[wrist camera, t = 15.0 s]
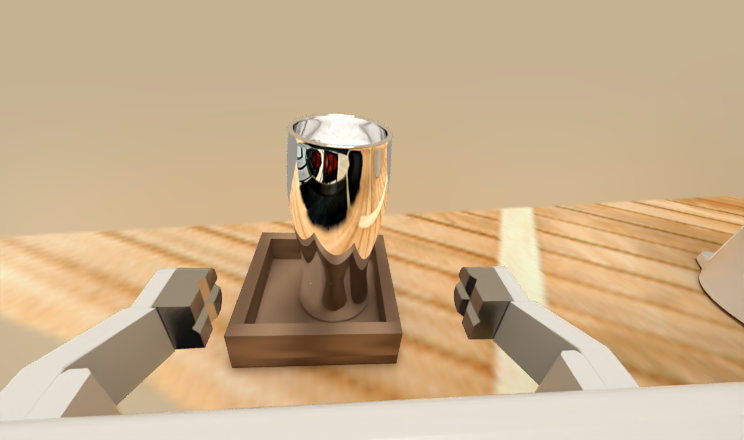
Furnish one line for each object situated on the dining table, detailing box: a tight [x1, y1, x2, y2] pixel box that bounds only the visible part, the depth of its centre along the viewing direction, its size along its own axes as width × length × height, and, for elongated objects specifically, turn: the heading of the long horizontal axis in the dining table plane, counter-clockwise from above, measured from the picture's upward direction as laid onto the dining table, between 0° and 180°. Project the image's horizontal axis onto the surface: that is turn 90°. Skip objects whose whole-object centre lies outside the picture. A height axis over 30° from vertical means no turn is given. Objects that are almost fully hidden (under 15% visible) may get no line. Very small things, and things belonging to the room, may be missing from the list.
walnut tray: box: [224, 232, 402, 368], centre depth 27 cm, size 12×12×4 cm
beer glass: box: [287, 113, 393, 322], centre depth 23 cm, size 7×7×15 cm
